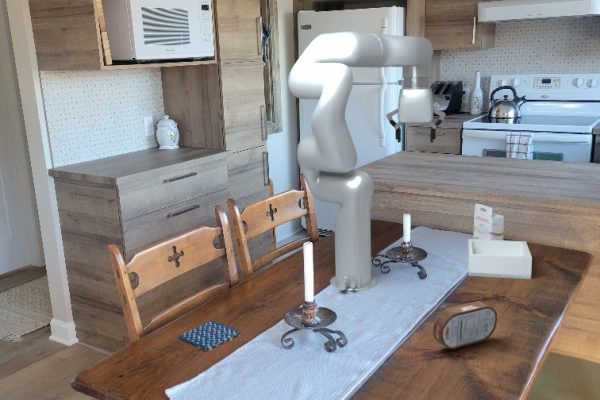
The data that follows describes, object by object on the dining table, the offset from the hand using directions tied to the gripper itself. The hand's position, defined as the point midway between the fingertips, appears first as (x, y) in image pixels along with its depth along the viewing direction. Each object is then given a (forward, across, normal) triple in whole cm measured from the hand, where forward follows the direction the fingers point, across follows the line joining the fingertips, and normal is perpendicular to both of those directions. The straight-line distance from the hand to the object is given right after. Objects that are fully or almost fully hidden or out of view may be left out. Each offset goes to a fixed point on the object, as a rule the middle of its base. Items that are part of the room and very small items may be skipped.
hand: (415, 141), depth 173 cm
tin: (+35, +15, -60) cm, 71 cm away
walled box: (+34, +24, -12) cm, 44 cm away
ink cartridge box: (+35, +22, +4) cm, 41 cm away
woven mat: (+35, -39, -69) cm, 87 cm away
